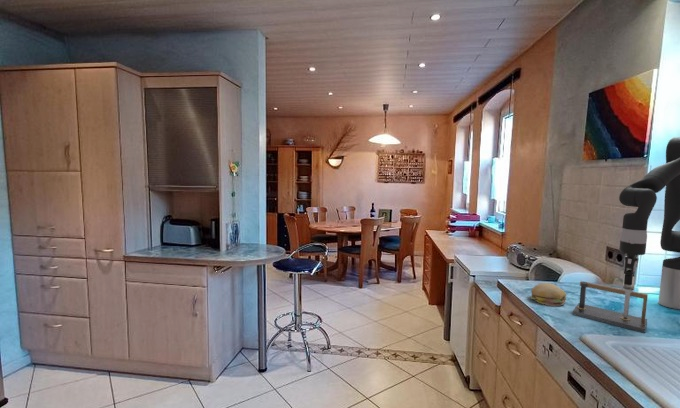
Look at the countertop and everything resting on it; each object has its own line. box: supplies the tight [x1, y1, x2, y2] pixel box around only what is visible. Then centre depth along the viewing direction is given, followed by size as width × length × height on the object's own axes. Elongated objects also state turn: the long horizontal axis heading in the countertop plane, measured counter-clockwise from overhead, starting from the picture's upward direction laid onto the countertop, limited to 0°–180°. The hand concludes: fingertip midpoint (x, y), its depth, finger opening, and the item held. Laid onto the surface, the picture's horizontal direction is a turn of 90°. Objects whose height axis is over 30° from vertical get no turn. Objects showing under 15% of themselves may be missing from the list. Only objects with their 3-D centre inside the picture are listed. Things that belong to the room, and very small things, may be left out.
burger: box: [529, 282, 568, 307], centre depth 152 cm, size 13×14×8 cm
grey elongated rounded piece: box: [622, 274, 636, 318], centre depth 130 cm, size 5×3×17 cm
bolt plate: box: [572, 280, 649, 334], centre depth 134 cm, size 12×22×12 cm, turn 45°
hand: (628, 282), depth 129 cm, fingers open, 8 cm apart
